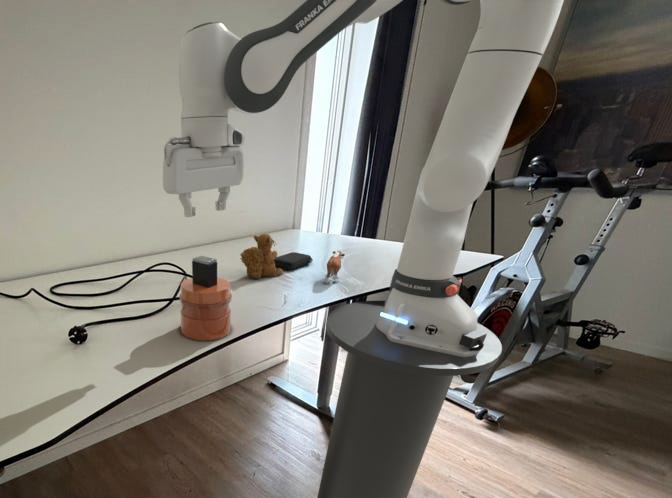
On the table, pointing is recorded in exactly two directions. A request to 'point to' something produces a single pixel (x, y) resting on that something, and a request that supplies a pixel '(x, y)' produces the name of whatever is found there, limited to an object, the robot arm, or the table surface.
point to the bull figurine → (334, 264)
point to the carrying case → (292, 260)
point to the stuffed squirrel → (261, 258)
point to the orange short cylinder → (205, 310)
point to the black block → (204, 271)
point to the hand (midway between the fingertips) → (205, 213)
